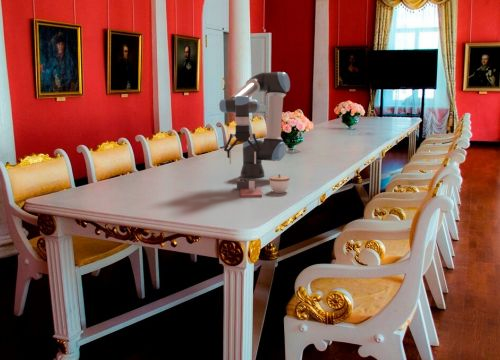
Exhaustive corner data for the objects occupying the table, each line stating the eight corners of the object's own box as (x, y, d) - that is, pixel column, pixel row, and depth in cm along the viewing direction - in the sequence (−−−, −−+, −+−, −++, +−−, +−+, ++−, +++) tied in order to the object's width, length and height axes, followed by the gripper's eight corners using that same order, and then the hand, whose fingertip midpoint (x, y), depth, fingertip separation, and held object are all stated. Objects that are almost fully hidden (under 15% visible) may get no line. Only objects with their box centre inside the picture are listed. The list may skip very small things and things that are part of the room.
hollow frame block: (237, 187, 295) (236, 178, 294) (249, 187, 295) (249, 178, 294) (236, 190, 287) (236, 181, 286) (249, 190, 287) (249, 180, 286)
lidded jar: (273, 194, 276) (272, 176, 274) (266, 190, 286) (266, 173, 285) (292, 193, 279) (292, 175, 277) (285, 189, 289) (285, 172, 287)
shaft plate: (240, 191, 285) (240, 178, 284) (260, 190, 285) (260, 178, 284) (240, 197, 270) (240, 184, 268) (262, 196, 270) (262, 184, 269)
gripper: (219, 125, 281) (219, 164, 285) (265, 125, 281) (265, 164, 285) (219, 124, 288) (220, 162, 292) (265, 124, 289) (265, 162, 292)
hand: (242, 163), depth 289 cm, fingers open, 13 cm apart
